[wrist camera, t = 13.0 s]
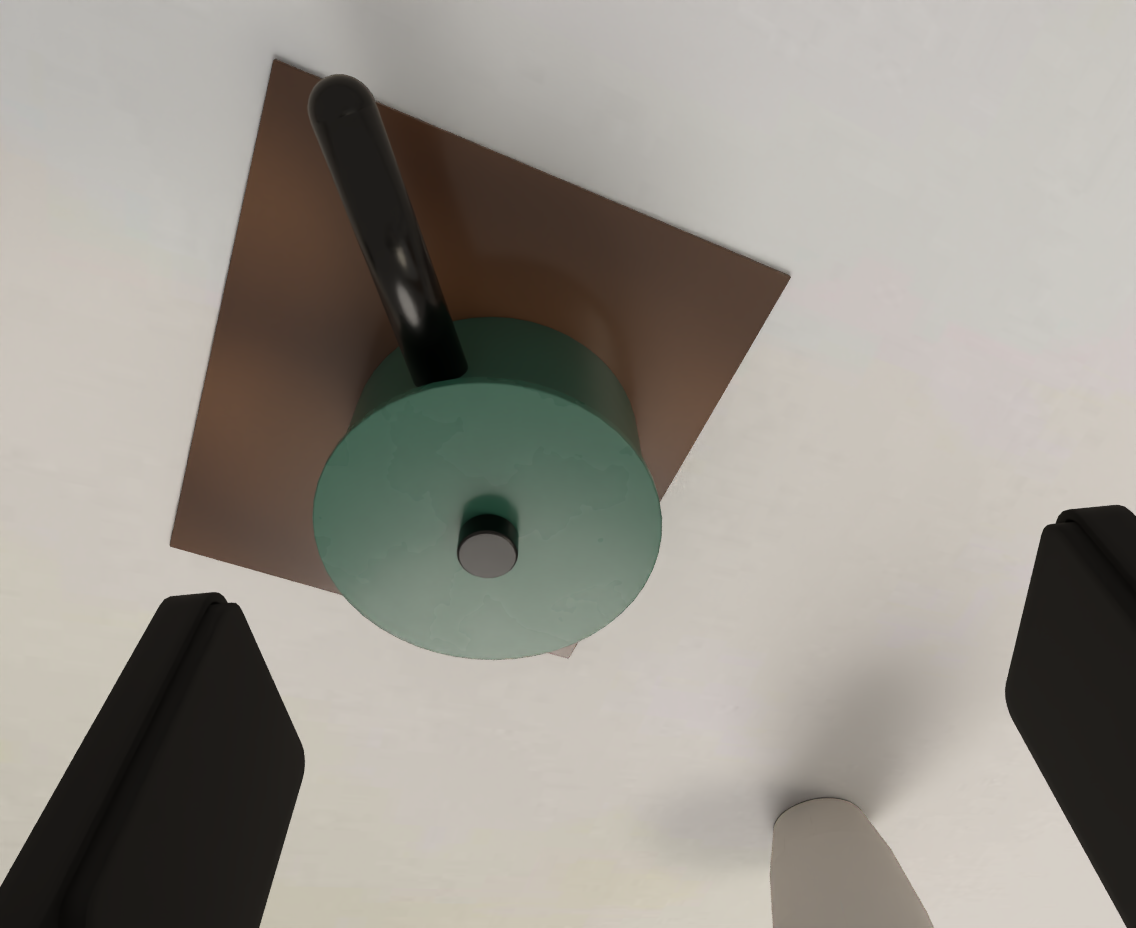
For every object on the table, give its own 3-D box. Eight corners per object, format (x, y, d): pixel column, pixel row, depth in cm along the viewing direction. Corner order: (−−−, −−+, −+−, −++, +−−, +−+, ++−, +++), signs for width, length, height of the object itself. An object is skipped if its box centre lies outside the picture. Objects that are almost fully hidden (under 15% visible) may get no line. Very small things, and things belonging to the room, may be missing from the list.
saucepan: (406, 586, 37) (382, 706, 31) (179, 104, 26) (81, 158, 21) (669, 531, 36) (693, 645, 30) (545, -1, 25) (545, 25, 19)
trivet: (276, 57, 26) (273, 59, 26) (789, 274, 30) (791, 277, 30) (171, 542, 36) (169, 546, 35) (568, 654, 40) (568, 659, 40)
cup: (748, 875, 50) (789, 1071, 41) (742, 789, 45) (787, 988, 37) (889, 859, 49) (959, 1055, 41) (897, 771, 45) (978, 969, 37)
